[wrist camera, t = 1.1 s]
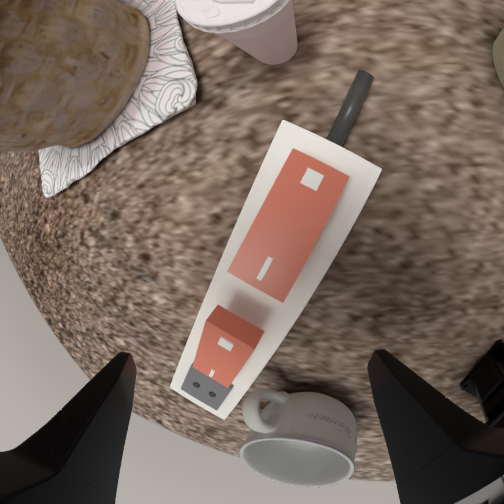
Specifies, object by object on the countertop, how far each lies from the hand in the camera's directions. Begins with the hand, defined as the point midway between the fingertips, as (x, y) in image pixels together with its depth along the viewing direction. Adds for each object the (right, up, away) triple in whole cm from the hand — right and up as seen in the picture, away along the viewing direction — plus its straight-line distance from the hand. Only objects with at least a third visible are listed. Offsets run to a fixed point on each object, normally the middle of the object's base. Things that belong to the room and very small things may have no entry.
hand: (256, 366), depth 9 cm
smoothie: (+2, +20, +8) cm, 22 cm away
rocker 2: (+2, +5, +7) cm, 9 cm away
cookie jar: (-18, +25, +14) cm, 34 cm away
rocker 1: (-2, -4, +11) cm, 12 cm away
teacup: (+6, -12, +17) cm, 21 cm away
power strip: (+1, +2, +14) cm, 14 cm away
